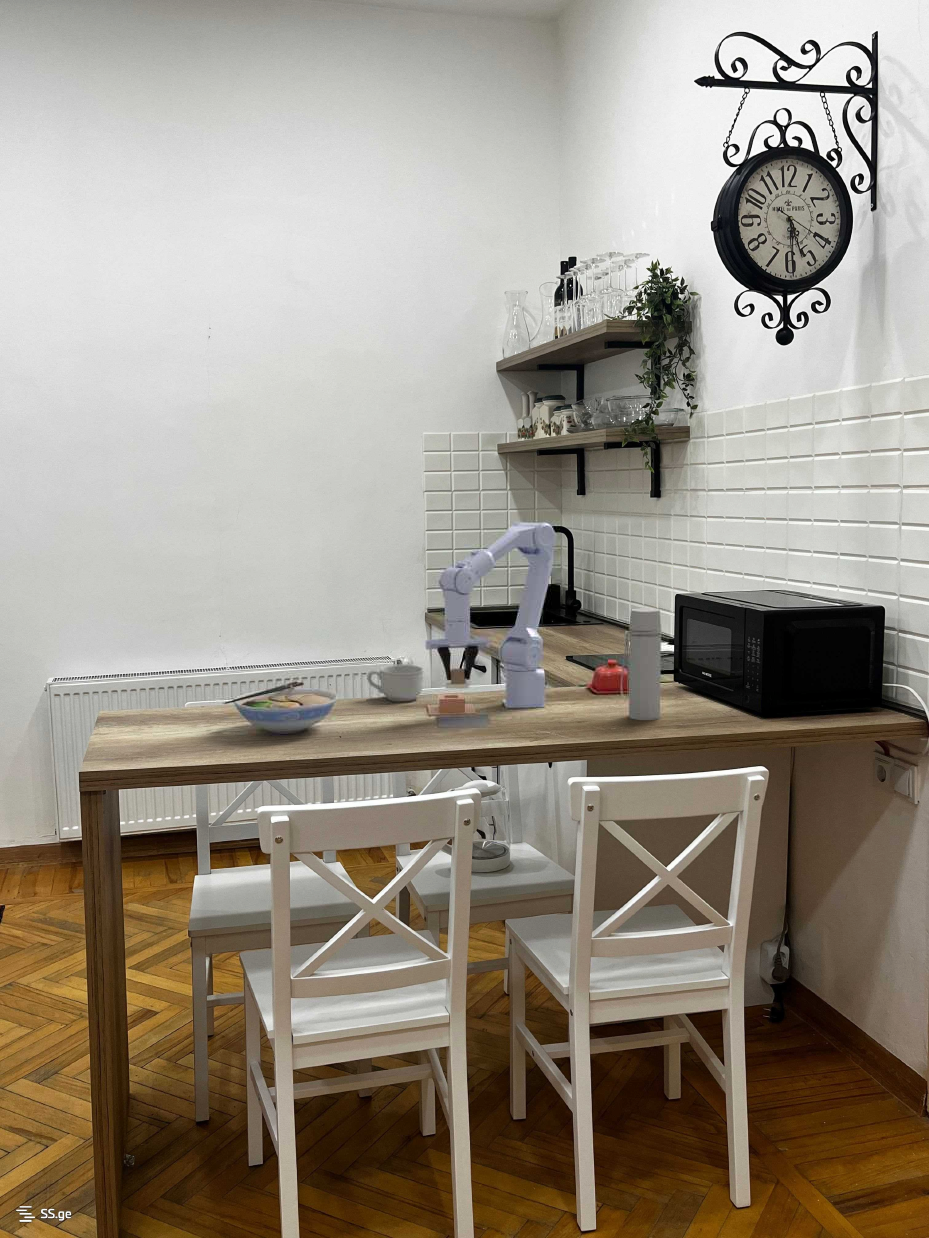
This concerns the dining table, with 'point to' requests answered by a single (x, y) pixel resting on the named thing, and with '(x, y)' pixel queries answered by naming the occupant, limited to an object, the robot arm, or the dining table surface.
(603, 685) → the butter dish
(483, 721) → the mat
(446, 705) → the salmon stepped square block
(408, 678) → the teacup
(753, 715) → the dining table surface
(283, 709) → the ramen bowl
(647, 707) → the water bottle
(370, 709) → the dining table surface
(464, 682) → the lid
